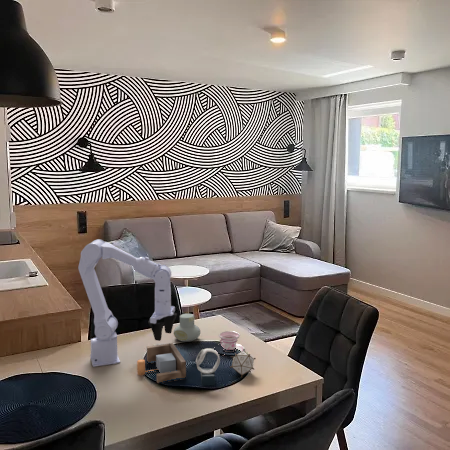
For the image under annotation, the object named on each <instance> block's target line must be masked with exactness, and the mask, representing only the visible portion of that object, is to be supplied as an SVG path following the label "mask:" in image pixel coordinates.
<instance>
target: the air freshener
mask: <svg viewBox="0 0 450 450" xmlns="http://www.w3.org/2000/svg"><path fill="white" fill-rule="evenodd" d="M200 335H201V328H200V327H199V326H198V325H196V324H195V315H194V314H192V313H183V314H181V315H179V324H178V325H177V326H176V327H174V329H173V336H174V337H175V339H177V340H178V341H181V342H183V343H189V342H192V341H196V340H197V339H198V338H199V337H200Z"/></svg>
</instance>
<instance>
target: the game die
mask: <svg viewBox="0 0 450 450" xmlns="http://www.w3.org/2000/svg"><path fill="white" fill-rule="evenodd" d="M244 350H245V351H244ZM231 358H232V364H231V366H229V369H230V368H231V369H234V370H235V372H237V373H238V374H239V375H241V376H240V378H243V376H244V375H245V374H247V373H252V372H251V370H255V368H254V361H255V360H256V357H253V356H251V354H250V353H248V352H247V351H246V348H245V349H243V351H242V352H240V353H238V354H236V353H235V356H231Z"/></svg>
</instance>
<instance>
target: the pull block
mask: <svg viewBox="0 0 450 450" xmlns="http://www.w3.org/2000/svg"><path fill="white" fill-rule="evenodd" d="M136 364H137V365H136V366H137V375H138V376H144V375H146V373H145V372H148V371H154V370H159V372H160V373H165V372H170V371H176V359H175V357H174V356H173V354H172V353H168V354H161V355H156V363H155V368H156V367H157V368H156V369H150V370H146V360H145V359H138V360H137V361H136ZM154 372H155V371H154ZM159 372H158V373H159ZM148 373H149V372H148Z"/></svg>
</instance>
